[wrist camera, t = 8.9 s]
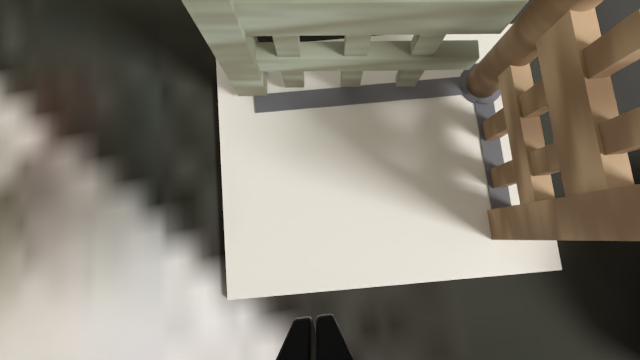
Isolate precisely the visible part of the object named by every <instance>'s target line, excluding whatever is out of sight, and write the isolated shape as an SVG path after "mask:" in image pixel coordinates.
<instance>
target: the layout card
mask: <svg viewBox="0 0 640 360" xmlns="http://www.w3.org/2000/svg"><path fill="white" fill-rule="evenodd" d="M512 25H513V24H508V25H507V27H506V28H505V29H504V30H503V31H502V32H501V34H446V36H445V37H444V39H443V40H478V45H479V59H478V60H477V61H476V63H475V64H474V65H473V66H472V67H471V68H470V69H469V70H425V71H424V72H423V74H422V76H421V77H420V79H419V81H418V82H417V84H416V86H415V87H396V74H397V72H398V71H363V74H362V79H361V83H360V87H341V81H340V76H341V71H304V87H293V88H285V84H284V80H283V76H282V72H281V71H279V72H268V79H267V96H238V94H237V92H236V91H235V89H234V87H233V86H232V84H231V82H230V81H229V79H228V77H227V76H226V74H225V72H224V71H223V69H222V67H221V66H220V64H219V62H218V61H217V59H216V68H217V89H218V110H219V132H220V153H221V174H222V195H223V216H224V237H225V258H226V280H227V300H234V299H245V298H256V297H267V296H278V295H290V294H301V293H312V292H323V291H334V290H345V289H356V288H367V287H378V286H389V285H401V284H412V283H423V282H434V281H445V280H456V279H467V278H478V277H489V276H500V275H511V274H523V273H534V272H545V271H556V270H562V267H561V261H560V256H559V250H558V245H557V240H492V238H491V232H490V225H489V219H488V213H487V210H491V209H496V208H502V207H508V206H514V205H520V201H519V195H518V189H517V184H514V185H510V186H507V187H500V188H493V183H492V177H491V171H490V169H491V168H494V167H496V166H499V165H501V164H503V163H506V162H508V161H511V160H512V155H511V149H510V143H509V138H508V134H506V135H505V136H503V137H501V138H499V139H497V140H491V141H486V140H485V134H484V128H483V122H484V121H485V120H487V119H488V118H490V117H491V116H492V115H494V114H495V113H496V112H498V111H499V110H501V109H502V108H503V103H502V97H501V92H500V89H499V90H497V91H496V92H495V93H494V94H493V95H491V96H490V97H487V98H478V97H475V96H474V95H472V94H471V93H470V92H469V91H468V89H467V86H466V79H467V76H468V75H469V74H470V72H471V71H472V70H473V69H474V68H475V67H476V66H477V64H478V63H479V62H480V61H481V60H482V59H483V58H484V57H485V55H486V54H487V53H488V52H489V51H490V50H491V49H492V48H493V46H494V45H495V44H496V43H497V42H498V41H499V40H500V38H501V37H502V36H503V35H504V34H505V33H506V32H507V31H508V29H509V28H510V27H511V26H512ZM413 36H414V35H380V36H371V40H370V41H411V40H412V38H413ZM331 41H344V39H334V40H323V41H312V42H331Z"/></svg>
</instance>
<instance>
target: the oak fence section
mask: <svg viewBox="0 0 640 360" xmlns="http://www.w3.org/2000/svg"><path fill="white" fill-rule="evenodd" d="M602 1H603V0H534V1H533V2H532V3H531V5H530V6H529V7H528V8H527V9H526V10H525V11H524V12H523V14H522V15H521V16H520V17H519V18H518V19H517V20H516V21H515V23H514V24H513V25H512V26H511V27H510V28H509V29H508V31H507V32H506V33H505V34H504V35H503V36H502V37H501V38H500V40H499V41H498V42H497V43H496V44H495V45H494V46H493V48H492V49H491V50H490V51H489V52H488V53H487V54H486V55H485V57H484V58H483V59H482V60H481V61H480V62H479V63H478V64H477V66H476V67H475V68H474V69H473V70H472V71H471V72H470V74H469V75H468V76H467V79H466V86H467V89H468V91H469V92H470V93H471V94H472V95H474V96H475V97H478V98H487V97H490V96H491V95H493V94H494V93H495V92H496V91H497V90H499V89H500V92H501V97H502V103H503V108H502V109H501V110H499V111H498V112H496V113H495V114H494V115H492V116H491V117H490V118H488V119H487V120H485V121H484V122H483V128H484V134H485V140H486V141H491V140H497V139H499V138H501V137H503V136H505V135H506V134H508V138H509V143H510V149H511V155H512V160H511V161H508V162H506V163H503V164H501V165H499V166H496V167H494V168H491V169H490V171H491V177H492V183H493V188H500V187H507V186H510V185H514V184H517V189H518V195H519V201H520V205H514V206H508V207H502V208H496V209H491V210H487V213H488V219H489V225H490V232H491V238H492V240H568V241H640V184H636V185H635V184H634V180H633V176H632V171H631V167H630V162H629V158H628V153H627V152H631V151H634V150H638V149H640V107H638V108H636V109H633V110H631V111H628V112H626V113H624V114H621V115H619V113H618V109H617V104H616V100H615V96H614V91H613V87H612V82H611V78H610V75H612V74H614V73H615V72H617V71H619V70H621V69H622V68H624V67H626V66H628V65H629V64H631V63H633V62H635V61H636V60H638V59H640V9H638V10H636V11H635V12H634V13H632V14H631V15H630V16H628V17H627V18H625V19H624V20H623V21H621V22H620V23H619V24H617V25H616V26H614V27H613V28H612V29H610V30H609V31H608V32H606V33H605V34H604V35H602V36H601V33H600V29H599V24H598V20H597V15H596V11H595V7H596V6H597V5H598V4H600V3H601V2H602ZM537 56H538V58H539V63H540V68H541V74H542V80H540V81H539V82H538V83H536V84H535V85H533V80H532V74H531V69H530V64H529V63H530V62H531V61H533V60H534V59H535V58H536V57H537ZM548 110H549V115H550V120H551V125H552V130H553V135H554V141H555V142H554V143H552V144H549V145H547V146H545V143H544V138H543V132H542V127H541V122H540V117H539V116H540V115H541V114H543V113H545V112H547V111H548ZM560 171H561V177H562V182H563V187H564V192H565V197H560V198H555V196H554V190H553V185H552V180H551V175H550V174H553V173H556V172H560Z"/></svg>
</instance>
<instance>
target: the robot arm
mask: <svg viewBox="0 0 640 360" xmlns="http://www.w3.org/2000/svg"><path fill="white" fill-rule="evenodd" d="M276 360H354V358H353V356H352V354H351V351H350V349H349V347H348V345H347V343H346V341H345V339H344V336H343V334H342V332H341V330H340V328H339V326H338V324H337V322H336V319H335V317H334V315H333V314H324V315H319V316H317V319H316V332H315V328H314V324H313V321H312V318H311V317H309V316H308V317H300V318H296V319H295V320H294V321H293V323H292V326H291V328H290V330H289V332H288V334H287V337H286V339H285V341H284V343H283V345H282V348H281V350H280V352H279V354H278V356H277V359H276Z"/></svg>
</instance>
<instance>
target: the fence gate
mask: <svg viewBox="0 0 640 360" xmlns="http://www.w3.org/2000/svg"><path fill="white" fill-rule="evenodd" d="M528 1H529V0H182V2H183V4H184V5H185V7H186V9H187V11H188V12H189V14H190V16H191V17H192V19H193V21H194V22H195V24H196V26H197V27H198V29H199V31H200V32H201V34H202V36H203V37H204V39H205V41H206V42H207V44H208V46H209V47H210V49H211V51H212V52H213V54H214V56H215V57H216V59H217V61H218V62H219V64H220V66H221V67H222V69H223V71H224V72H225V74H226V76H227V77H228V79H229V81H230V82H231V84H232V86H233V87H234V89H235V91H236V92H237V94H238V96H267V79H268V72H279V71H281V72H282V76H283V80H284V84H285V88H293V87H304V71H341V76H340V81H341V87H360V83H361V79H362V74H363V71H398V72H397V74H396V87H415V86H416V84H417V82H418V81H419V79H420V77H421V76H422V74H423V72H424V71H425V70H469V69H470V68H471V67H472V66H473V65H474V64H475V63H476V61H477V60H478V59H479V45H478V40H443V39H444V37H445V36H446V34H501V32H502V31H503V30H504V29H505V28H506V27H507V25H508V24H509V23H510V22H511V21H512V20H513V19H514V17H515V16H516V15H517V14H518V13H519V12H520V10H521V9H522V8H523V7H524V6H525V5H526V3H527V2H528ZM321 35H345V37H344V41H331V42H300V37H299V36H321ZM372 35H414V36H413V38H412V40H411V41H370V40H371V36H372ZM257 36H272V37H273V41H274V42H258V39H257Z"/></svg>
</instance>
